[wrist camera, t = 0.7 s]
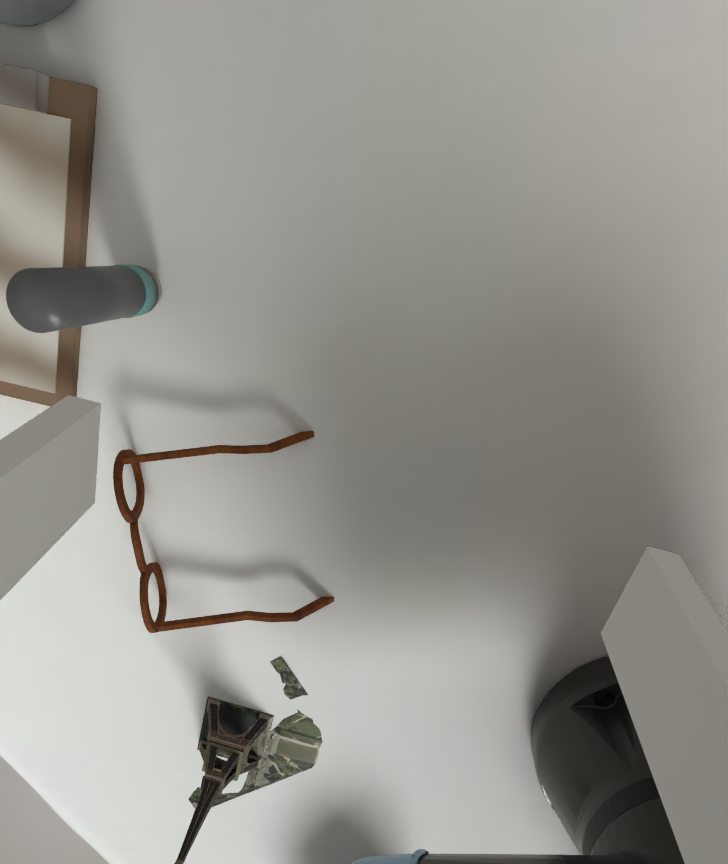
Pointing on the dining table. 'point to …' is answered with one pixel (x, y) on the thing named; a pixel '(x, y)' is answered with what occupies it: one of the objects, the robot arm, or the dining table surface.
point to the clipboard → (42, 218)
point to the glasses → (147, 570)
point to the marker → (79, 295)
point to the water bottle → (30, 11)
